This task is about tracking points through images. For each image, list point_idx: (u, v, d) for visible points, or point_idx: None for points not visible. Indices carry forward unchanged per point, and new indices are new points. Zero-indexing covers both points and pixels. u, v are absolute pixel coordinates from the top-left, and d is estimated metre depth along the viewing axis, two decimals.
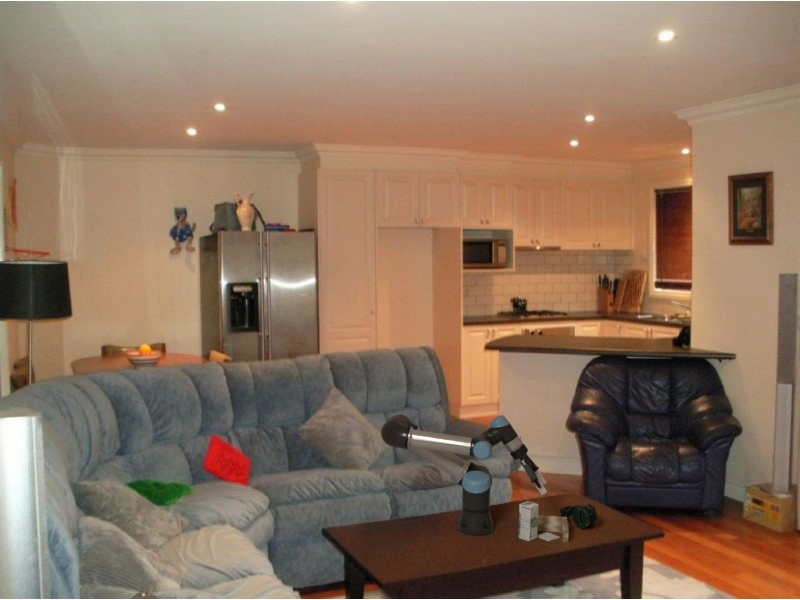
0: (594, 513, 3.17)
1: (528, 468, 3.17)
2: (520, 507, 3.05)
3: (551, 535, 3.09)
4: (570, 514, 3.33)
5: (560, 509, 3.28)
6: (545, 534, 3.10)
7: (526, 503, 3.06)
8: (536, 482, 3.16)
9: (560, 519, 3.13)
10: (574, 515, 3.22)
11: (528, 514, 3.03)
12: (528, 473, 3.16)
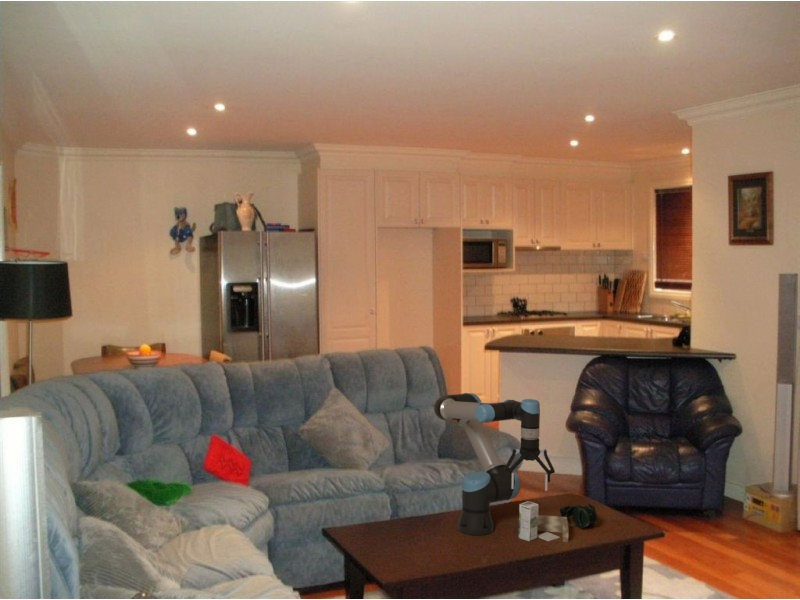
0: (594, 513, 3.17)
1: (510, 457, 3.06)
2: (520, 507, 3.05)
3: (551, 535, 3.09)
4: (570, 514, 3.34)
5: (560, 509, 3.28)
6: (545, 534, 3.10)
7: (526, 503, 3.06)
8: (508, 473, 3.07)
9: (560, 519, 3.13)
10: (574, 515, 3.22)
11: (528, 514, 3.03)
12: None
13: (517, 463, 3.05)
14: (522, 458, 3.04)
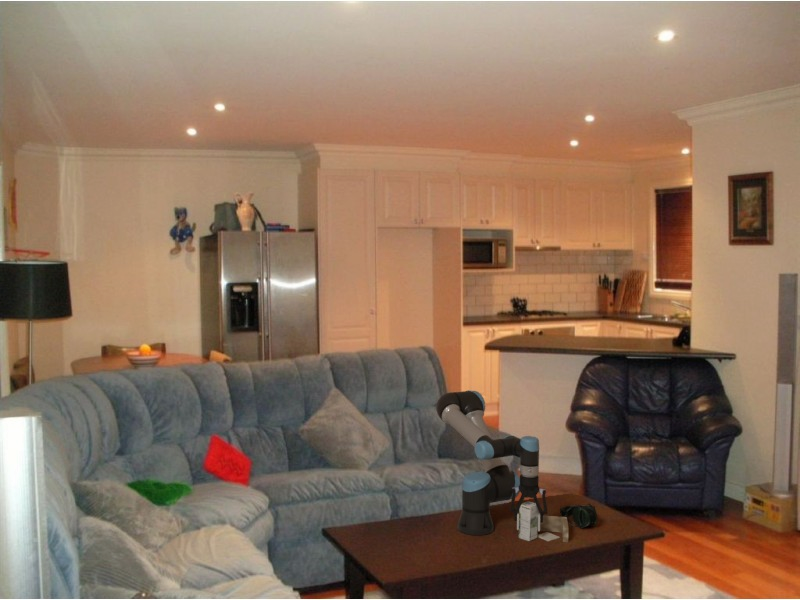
0: (594, 513, 3.17)
1: (512, 497, 3.06)
2: (520, 507, 3.05)
3: (551, 535, 3.09)
4: (570, 514, 3.34)
5: (560, 509, 3.28)
6: (545, 534, 3.10)
7: (526, 503, 3.06)
8: (514, 514, 3.07)
9: (560, 519, 3.13)
10: (574, 515, 3.22)
11: (528, 514, 3.03)
12: (511, 501, 3.07)
13: (520, 502, 3.05)
14: (523, 496, 3.04)
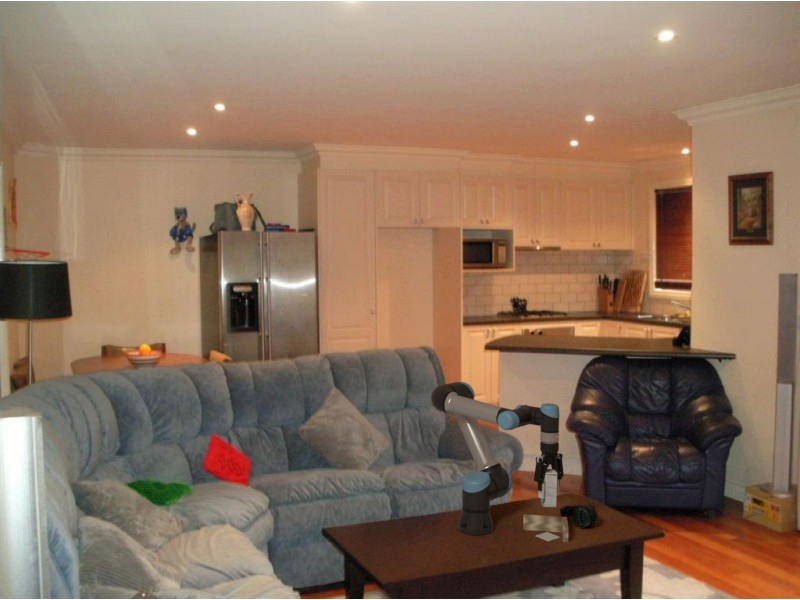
0: (594, 513, 3.18)
1: (538, 468, 3.02)
2: (545, 475, 3.04)
3: (551, 535, 3.09)
4: (570, 514, 3.34)
5: (560, 509, 3.28)
6: (545, 534, 3.10)
7: (547, 470, 3.06)
8: (538, 484, 3.04)
9: (560, 519, 3.13)
10: (574, 515, 3.22)
11: (554, 480, 3.04)
12: (535, 471, 3.03)
13: (545, 471, 3.04)
14: (548, 464, 3.04)
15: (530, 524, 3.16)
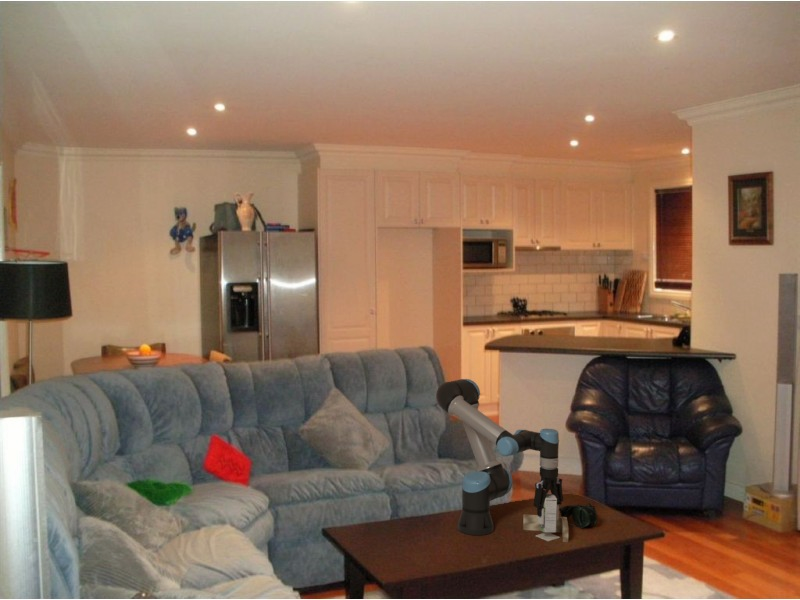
0: (594, 513, 3.18)
1: (538, 493, 3.03)
2: None
3: (551, 535, 3.09)
4: (570, 514, 3.34)
5: (560, 509, 3.29)
6: (545, 534, 3.10)
7: (546, 496, 3.07)
8: (538, 509, 3.04)
9: (560, 519, 3.13)
10: (574, 515, 3.22)
11: (554, 505, 3.05)
12: (535, 497, 3.04)
13: (544, 496, 3.04)
14: (547, 489, 3.04)
15: (530, 524, 3.16)
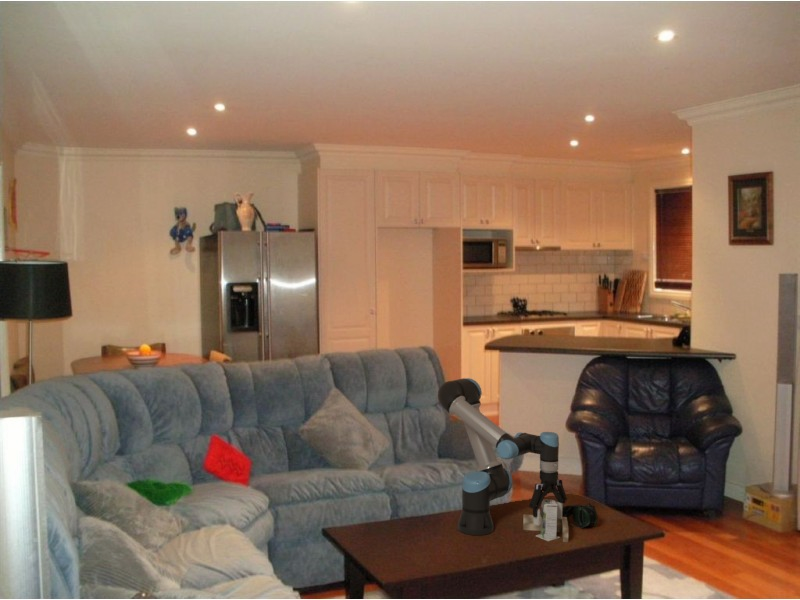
0: (594, 513, 3.18)
1: (536, 494, 3.02)
2: (545, 507, 3.05)
3: None
4: (570, 514, 3.34)
5: None
6: None
7: (547, 501, 3.07)
8: (534, 510, 3.03)
9: (560, 519, 3.13)
10: (574, 515, 3.22)
11: (554, 511, 3.05)
12: (532, 498, 3.03)
13: (542, 498, 3.03)
14: (546, 492, 3.04)
15: (530, 524, 3.16)
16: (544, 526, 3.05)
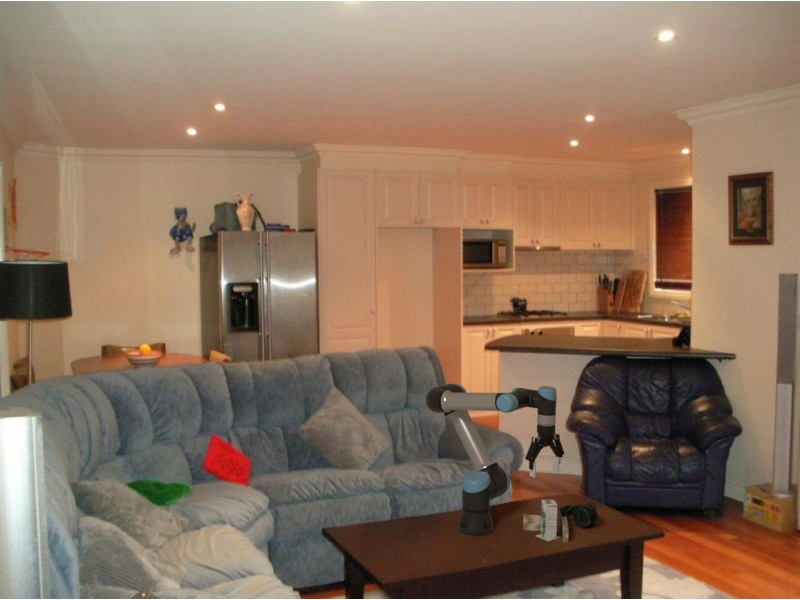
0: (595, 512, 3.18)
1: (532, 447, 3.05)
2: (545, 507, 3.05)
3: None
4: (570, 513, 3.34)
5: (560, 509, 3.29)
6: None
7: (547, 501, 3.07)
8: (530, 462, 3.05)
9: (560, 519, 3.13)
10: (574, 514, 3.22)
11: (554, 511, 3.05)
12: (529, 450, 3.05)
13: (538, 451, 3.06)
14: (543, 445, 3.06)
15: (530, 524, 3.16)
16: (544, 526, 3.05)
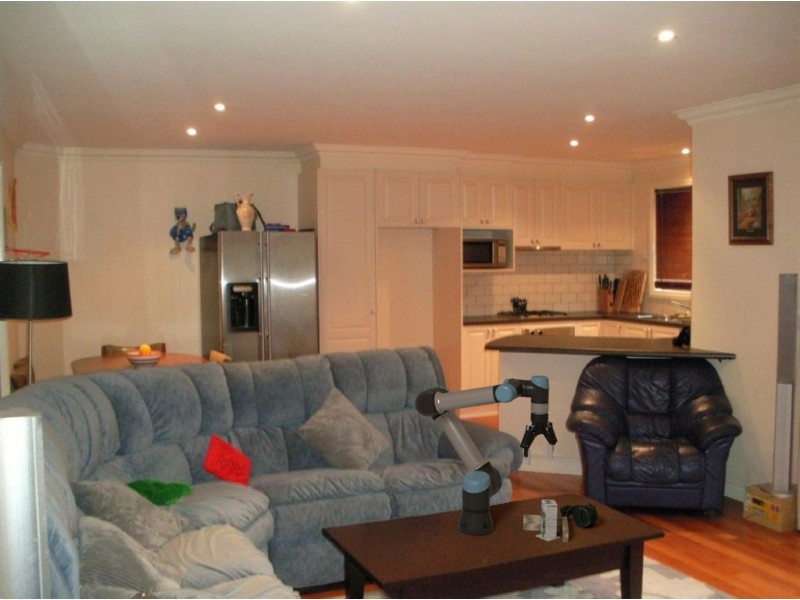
0: (595, 512, 3.18)
1: (527, 435, 3.11)
2: (545, 507, 3.05)
3: None
4: (570, 513, 3.34)
5: (560, 509, 3.29)
6: None
7: (547, 501, 3.07)
8: (524, 450, 3.12)
9: (560, 519, 3.13)
10: (575, 514, 3.22)
11: (554, 511, 3.05)
12: (523, 438, 3.12)
13: (532, 439, 3.12)
14: (537, 433, 3.13)
15: (530, 524, 3.16)
16: (544, 526, 3.05)
